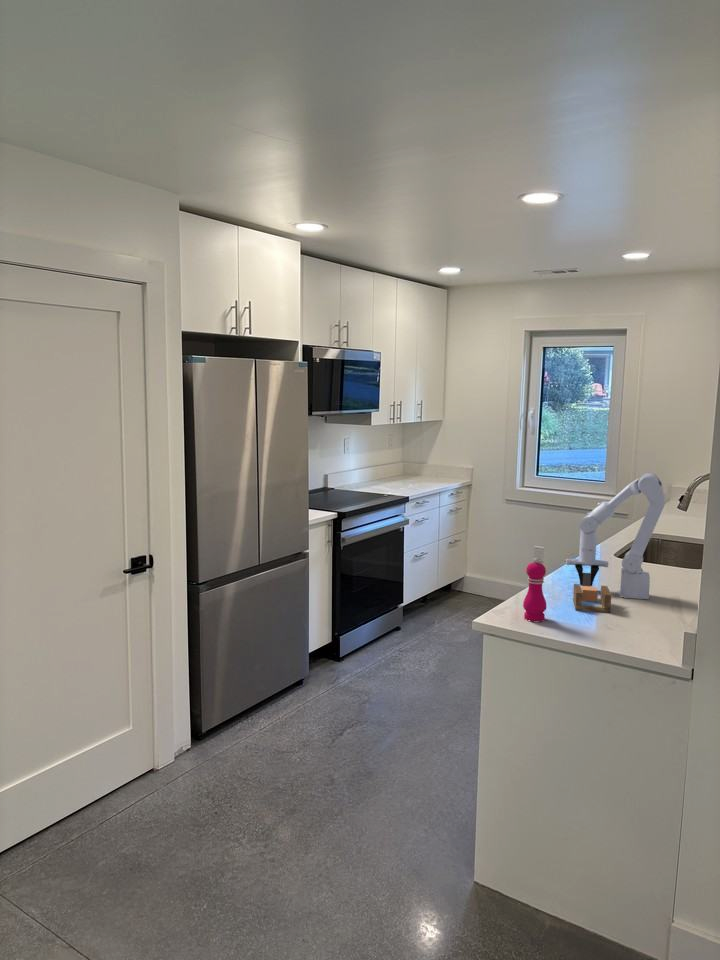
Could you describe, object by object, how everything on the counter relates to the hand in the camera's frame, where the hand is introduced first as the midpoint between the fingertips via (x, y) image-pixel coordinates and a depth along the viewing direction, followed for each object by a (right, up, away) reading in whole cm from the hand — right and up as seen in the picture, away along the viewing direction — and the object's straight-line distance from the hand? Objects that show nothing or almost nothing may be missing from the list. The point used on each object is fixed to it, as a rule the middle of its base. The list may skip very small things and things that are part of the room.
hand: (586, 585), depth 249 cm
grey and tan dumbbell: (-2, -3, -7) cm, 7 cm away
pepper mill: (-27, -6, -32) cm, 42 cm away
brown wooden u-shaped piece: (-4, -4, -19) cm, 20 cm away
